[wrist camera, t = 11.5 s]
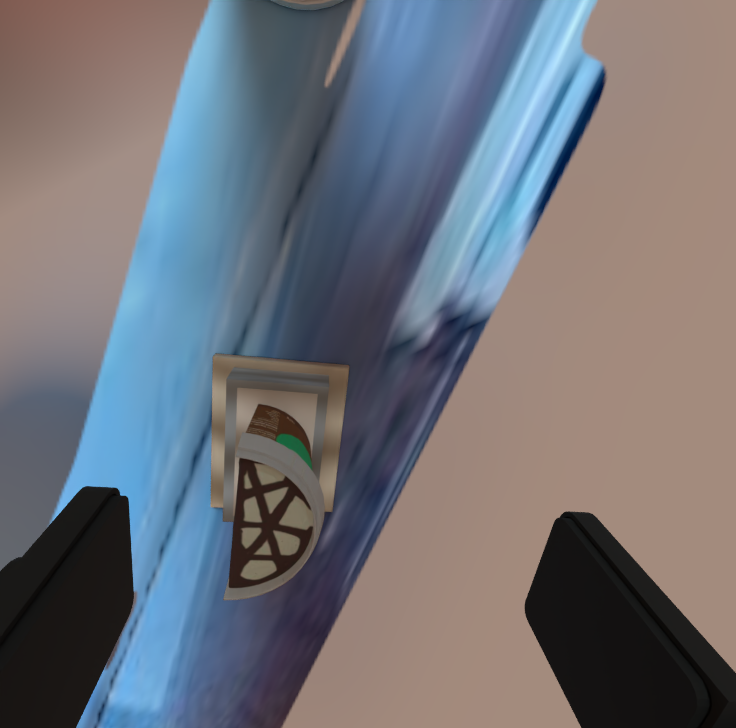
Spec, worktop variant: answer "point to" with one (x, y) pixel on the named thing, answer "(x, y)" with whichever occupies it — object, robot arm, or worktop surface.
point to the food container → (273, 505)
